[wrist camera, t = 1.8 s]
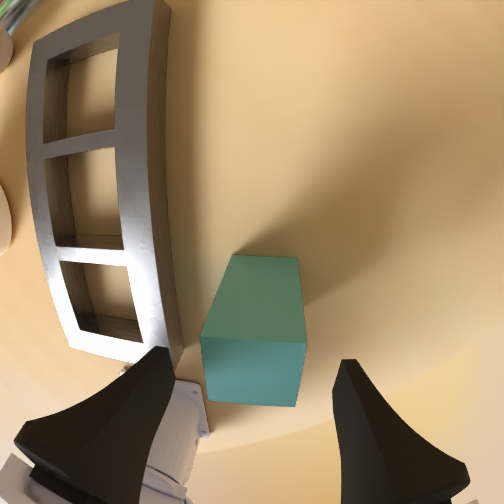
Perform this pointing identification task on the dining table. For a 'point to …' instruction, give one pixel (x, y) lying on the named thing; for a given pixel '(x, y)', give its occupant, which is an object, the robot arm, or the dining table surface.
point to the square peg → (255, 333)
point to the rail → (127, 174)
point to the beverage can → (4, 223)
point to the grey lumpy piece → (5, 49)
